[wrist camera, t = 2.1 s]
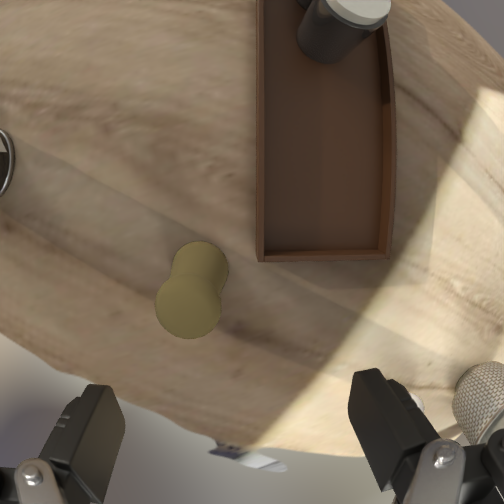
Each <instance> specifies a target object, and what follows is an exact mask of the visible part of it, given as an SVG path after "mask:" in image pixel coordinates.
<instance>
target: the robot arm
mask: <svg viewBox="0 0 504 504" xmlns="http://www.w3.org/2000/svg"><path fill="white" fill-rule="evenodd" d="M13 170H14V148H13V144H12V141H11V139H10V137H9V135H8V134H7V133H6V132H5V131H4V130H2V129H0V196H1V195H2V194H3V193H4V192H5V191H6V189H7V187H8V186H9V183H10V181H11V178H12V174H13ZM348 415H349V419H350V422H351V424H352V426H353V429H354V431H355V433H356V435H357V438H358V440H359V442H360V444H361V447H362V449H363V451H364V453H365V456H366V458H367V460H368V462H369V465H370V467H371V469H372V472H373V474H374V476H375V479H376V481H377V483H378V485H379V488H380V490H381V492H384V491H387V490H390V489H393V490H394V492H395V494H396V496H395V497H394V499H393V502H392V504H504V501H503V499H502V498H501V496H500V494H499V492H498V491H497V489H496V486H497V487H498V489H499V491H500V493H501V495H502V496H503V498H504V429H499V430H496V431H495V432H494V433H493V434H492V435H491V436H490V438H489V439H488V441H487V442H486V443H482V444H476V445H471V446H465V447H462V446H461V445H460V444H459V443H457V442H456V441H454V440H451V439H444V438H441V437H440V436H439V435H438V433H437V432H436V430H435V429H434V428H433V426H432V425H431V423H430V422H429V420H428V419H427V418H426V416H425V415H424V413H423V412H422V411H421V409H420V408H419V407H417V404H416V402H415V401H414V399H412V397H411V395H410V394H409V392H408V391H407V390H406V388H405V387H404V386H403V385H401V384H399V383H398V382H396V381H395V380H393V379H390V380H386V379H385V378H384V376H383V375H382V373H381V372H380V370H379V369H378V368H372V369H368V370H363V371H357V372H355V373H354V375H353V379H352V385H351V391H350V396H349V402H348ZM124 433H125V419H124V416H123V414H122V411H121V409H120V407H119V404H118V402H117V399H116V397H115V394H114V392H113V389H112V388H111V387H110V386H108V385H96V384H89V385H87V387H86V388H85V390H84V392H83V394H82V395H81V397H76V398H75V399H74V400H72V401H71V402H70V403H69V404H68V405H67V406H66V408H65V409H64V411H63V412H62V414H61V418H59V420H58V422H57V423H56V426H55V427H54V429H53V431H52V432H51V434H50V436H49V438H48V440H47V442H46V444H45V445H44V447H43V449H42V451H41V453H40V455H39V457H38V458H29V459H26V460H24V461H22V462H21V463H20V464H19V465H18V466H17V468H4V467H0V504H90V502H92V503H96V504H103V502H104V498H105V495H106V491H107V488H108V485H109V481H110V478H111V474H112V471H113V468H114V464H115V461H116V458H117V455H118V452H119V449H120V445H121V442H122V439H123V436H124Z"/></svg>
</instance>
